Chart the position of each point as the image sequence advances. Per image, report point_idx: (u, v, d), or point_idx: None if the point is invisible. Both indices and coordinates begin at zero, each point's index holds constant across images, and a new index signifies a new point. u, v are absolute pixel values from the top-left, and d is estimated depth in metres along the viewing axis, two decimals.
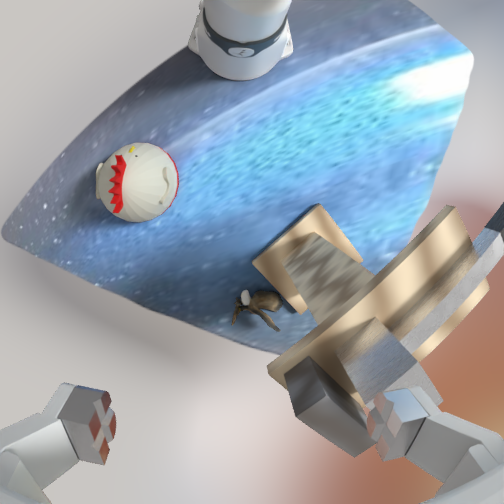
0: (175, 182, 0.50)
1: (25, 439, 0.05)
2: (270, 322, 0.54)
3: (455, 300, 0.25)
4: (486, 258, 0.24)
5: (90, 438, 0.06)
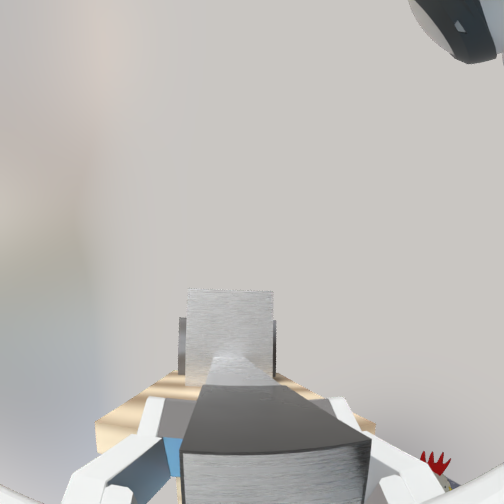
0: None
1: (128, 466, 0.05)
2: None
3: (230, 364, 0.17)
4: (251, 375, 0.12)
5: None
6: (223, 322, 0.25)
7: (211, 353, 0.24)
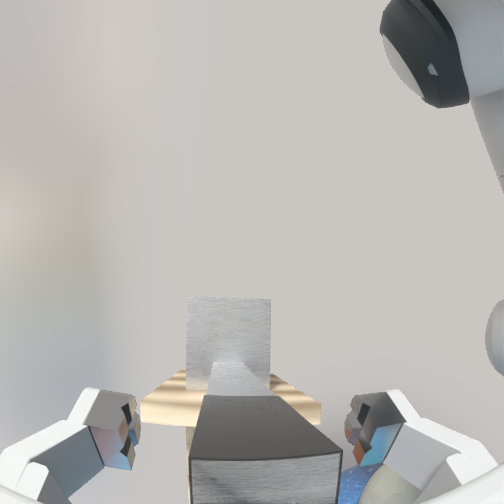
0: None
1: (52, 448, 0.05)
2: None
3: (229, 371, 0.18)
4: (248, 384, 0.13)
5: (119, 443, 0.06)
6: (222, 329, 0.26)
7: (210, 359, 0.25)
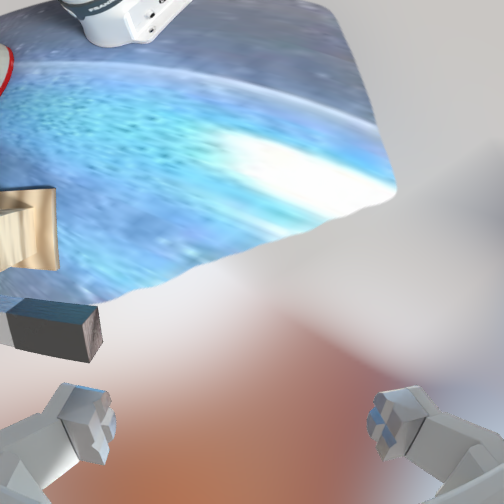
0: None
1: (25, 439, 0.05)
2: None
3: None
4: None
5: (90, 438, 0.06)
6: None
7: None
